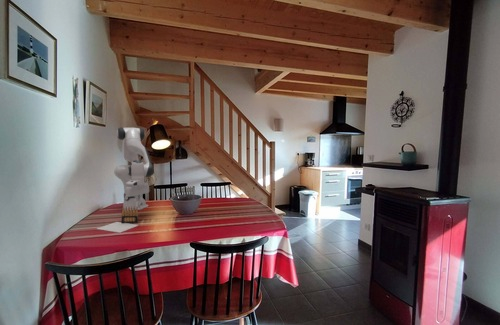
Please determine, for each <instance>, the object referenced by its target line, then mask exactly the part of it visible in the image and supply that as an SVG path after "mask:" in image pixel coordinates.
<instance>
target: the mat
mask: <svg viewBox="0 0 500 325" xmlns="http://www.w3.org/2000/svg"><path fill="white" fill-rule="evenodd" d="M138 226H140V225H139V224H136V223H121V221H115V222H112V223H109V224H106V225H103V226H100V227H97V228H96V230H99V231H105V232H112V233H118V234H120V233H122V232H125V231H128V230H131V229H133V228H136V227H138Z"/></svg>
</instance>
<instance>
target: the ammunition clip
mask: <svg viewBox="0 0 500 325" xmlns="http://www.w3.org/2000/svg"><path fill="white" fill-rule="evenodd" d="M122 209H123V210H122ZM122 209H121V210H122V212H121V221H120V222H121V223H128V224H138V223H139V210H138V207H136V210H135V206H134V208H133V210H132V206H131V210H130V207H128V211H127V206H126V208H125V210H124V206H123V205H122Z"/></svg>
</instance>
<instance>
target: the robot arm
mask: <svg viewBox="0 0 500 325" xmlns="http://www.w3.org/2000/svg"><path fill="white" fill-rule="evenodd" d="M116 136H117V139H118V140H121V141H123V159H124V160H126V161H128V162H129V163H131V164H122V165H117V166H116V167H115V168H114V175H115V177H116V178H118V179H119V180H120V181H121V182H122V184H123V190H124V191H123V203H122V204H123V205H122V207H123V206H124V211H125V208H126V206H127V212H128V207H130V210H131V206H132V211H133V208H134V206H135V211H136V207H138V211H141V210H143V209H145V208H147V207H149V204H147V203H146V200H145V199H144V198H143V197H142V195H144V194H148V193H150V185H149V182H148V181H147V180H145V177H146V178H150V177H152V176H153V175H154V174H155V168H154V165H153V163H152V161H151V160H152V159H151V158H150V155H149V152H148V149H147V147H146V146H144V145H143V144H142V141H143V140H144V139H145V137H146V131H145V129H143V128H140V127H139V128H138V127H118V128H117V130H116ZM139 156H141V157H142V158H143V160H140V159H139ZM121 210H123V208H122V209H121Z"/></svg>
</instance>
